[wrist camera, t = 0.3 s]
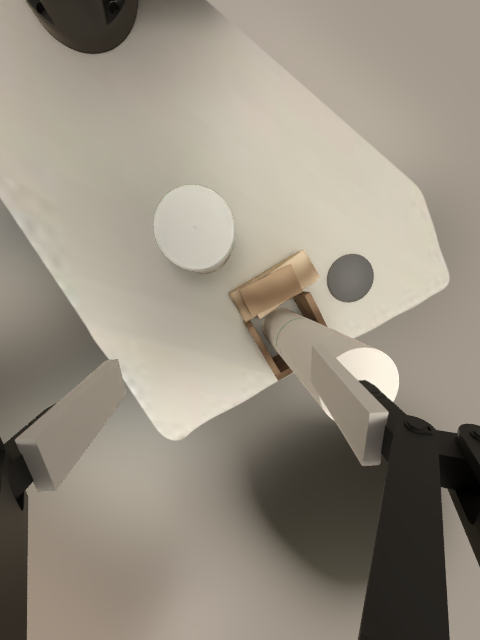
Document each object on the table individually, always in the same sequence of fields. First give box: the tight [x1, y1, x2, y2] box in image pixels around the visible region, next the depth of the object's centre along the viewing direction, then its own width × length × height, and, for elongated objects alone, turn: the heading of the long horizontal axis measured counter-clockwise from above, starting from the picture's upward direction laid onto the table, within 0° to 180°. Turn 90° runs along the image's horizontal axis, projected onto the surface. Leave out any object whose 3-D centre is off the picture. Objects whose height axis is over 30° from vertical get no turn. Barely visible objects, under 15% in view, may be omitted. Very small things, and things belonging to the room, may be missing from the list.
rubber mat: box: [327, 254, 374, 302], centre depth 43 cm, size 9×9×1 cm
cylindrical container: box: [263, 308, 399, 421], centre depth 31 cm, size 7×7×25 cm
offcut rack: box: [229, 250, 327, 381], centre depth 39 cm, size 17×15×7 cm
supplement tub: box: [153, 185, 235, 273], centre depth 32 cm, size 10×10×15 cm
